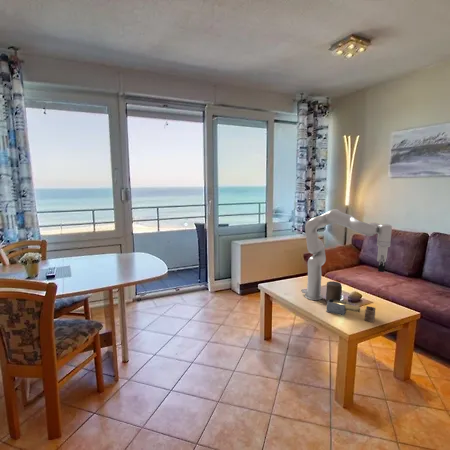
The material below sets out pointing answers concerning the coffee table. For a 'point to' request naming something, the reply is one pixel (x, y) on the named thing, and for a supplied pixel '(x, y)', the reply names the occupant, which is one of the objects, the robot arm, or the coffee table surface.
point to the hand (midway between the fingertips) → (381, 269)
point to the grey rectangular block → (336, 307)
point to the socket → (369, 314)
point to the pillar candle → (333, 290)
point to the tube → (350, 307)
